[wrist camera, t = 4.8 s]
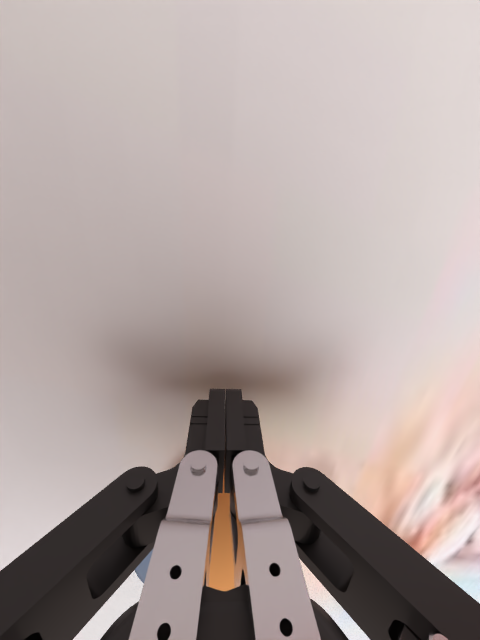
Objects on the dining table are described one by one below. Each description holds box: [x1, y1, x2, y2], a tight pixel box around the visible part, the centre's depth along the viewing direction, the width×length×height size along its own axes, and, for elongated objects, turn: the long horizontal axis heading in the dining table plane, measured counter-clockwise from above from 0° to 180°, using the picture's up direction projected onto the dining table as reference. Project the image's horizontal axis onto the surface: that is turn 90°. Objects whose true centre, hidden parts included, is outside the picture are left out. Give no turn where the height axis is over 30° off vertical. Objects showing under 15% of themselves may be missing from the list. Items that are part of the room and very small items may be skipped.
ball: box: [209, 476, 234, 591], centre depth 15 cm, size 6×6×6 cm
